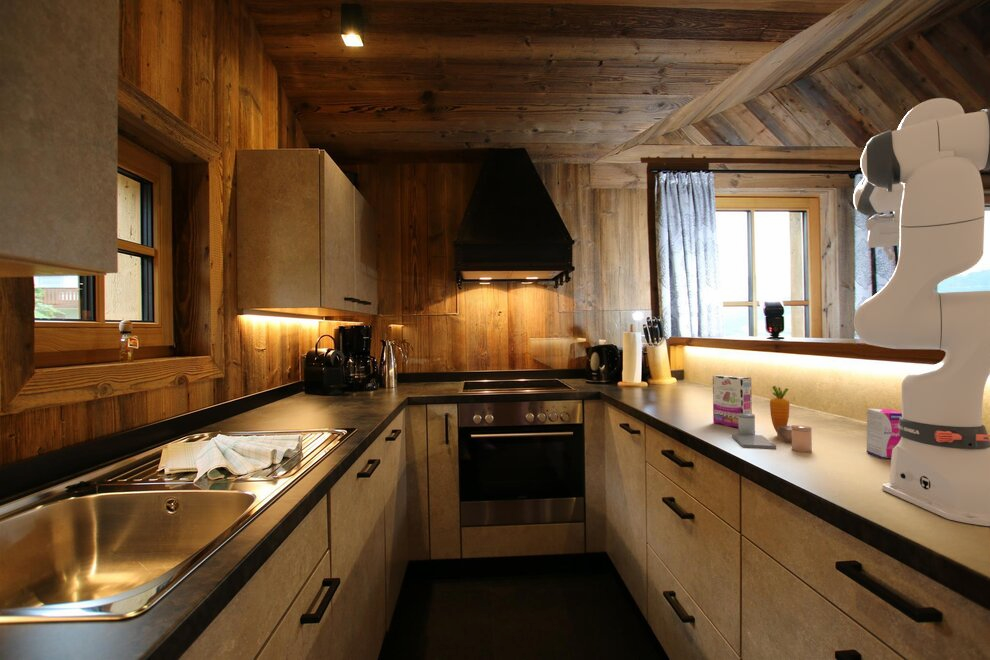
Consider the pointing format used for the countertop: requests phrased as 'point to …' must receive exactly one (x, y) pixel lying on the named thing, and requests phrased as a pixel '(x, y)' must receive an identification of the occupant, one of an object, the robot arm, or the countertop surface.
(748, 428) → the grey-blue jar
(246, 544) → the countertop surface
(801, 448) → the terracotta jar
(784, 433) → the walnut block
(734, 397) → the candy bar box
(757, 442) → the slate coaster
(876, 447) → the supplement box
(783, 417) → the carrot
